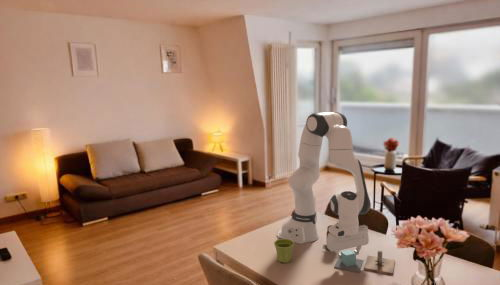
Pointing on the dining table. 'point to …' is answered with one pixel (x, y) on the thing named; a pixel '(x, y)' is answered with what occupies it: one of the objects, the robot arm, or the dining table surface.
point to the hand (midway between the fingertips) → (347, 256)
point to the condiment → (326, 245)
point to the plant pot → (284, 249)
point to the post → (379, 264)
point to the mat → (349, 268)
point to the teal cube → (348, 258)
